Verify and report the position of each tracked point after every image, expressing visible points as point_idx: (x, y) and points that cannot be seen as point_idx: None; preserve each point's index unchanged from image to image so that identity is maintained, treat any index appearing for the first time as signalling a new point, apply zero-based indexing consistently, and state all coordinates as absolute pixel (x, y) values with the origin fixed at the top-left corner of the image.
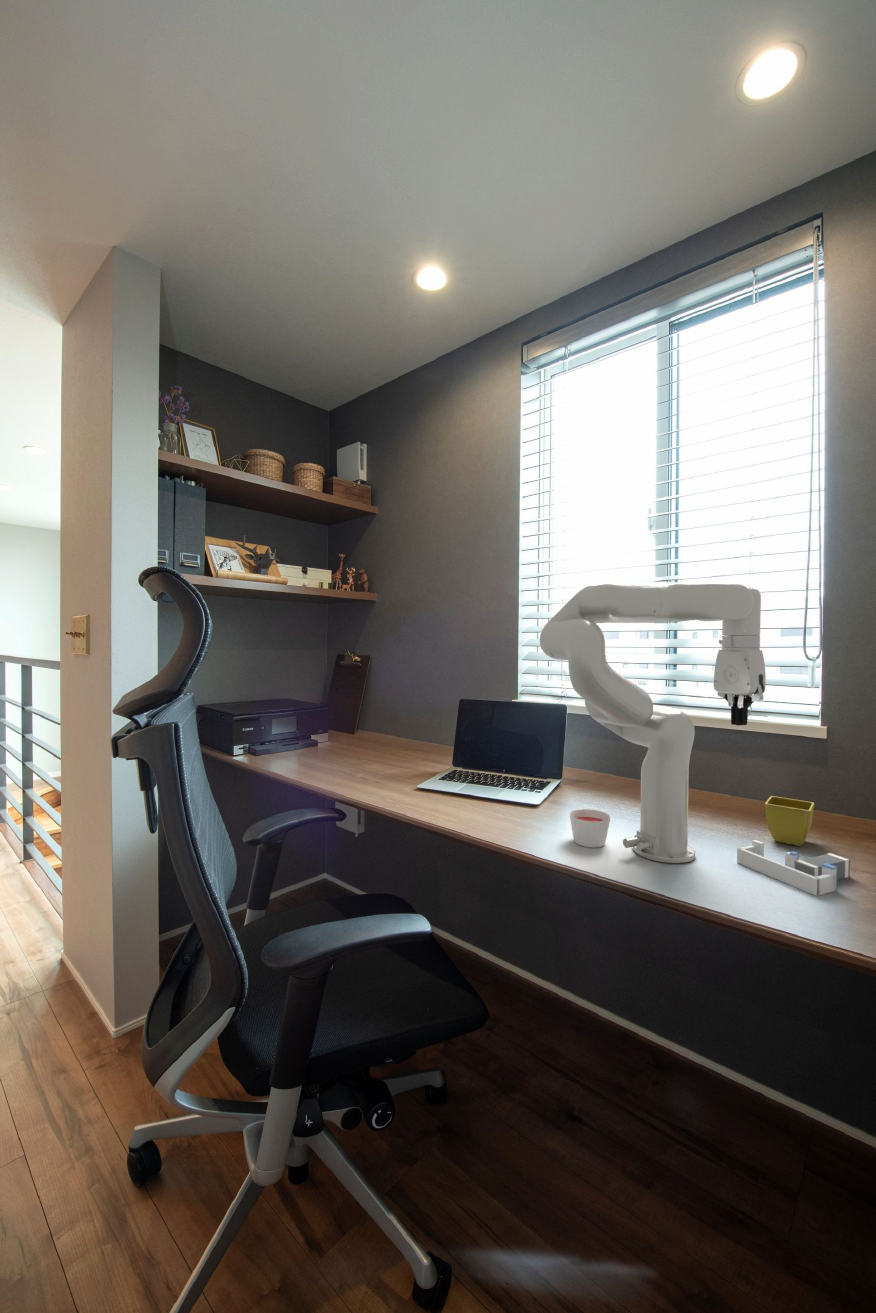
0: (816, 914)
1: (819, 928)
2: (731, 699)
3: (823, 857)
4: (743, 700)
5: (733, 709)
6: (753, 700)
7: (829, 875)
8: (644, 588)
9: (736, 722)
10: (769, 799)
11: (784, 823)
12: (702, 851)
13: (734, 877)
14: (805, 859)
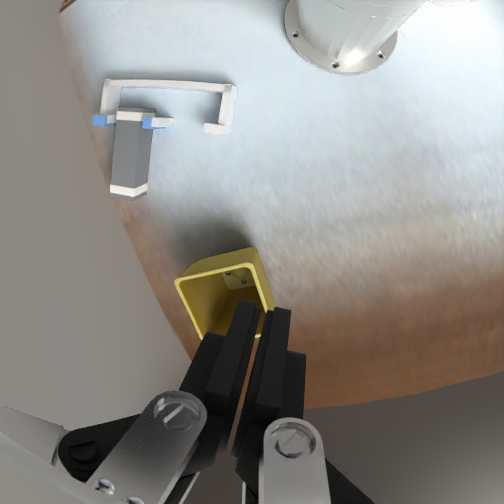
0: (101, 36)
1: (90, 13)
2: (277, 484)
3: (129, 168)
4: (117, 443)
5: (259, 389)
6: (46, 425)
7: (101, 110)
8: None
9: (243, 307)
10: (262, 302)
11: (224, 257)
12: (304, 85)
13: (208, 31)
14: (138, 132)
